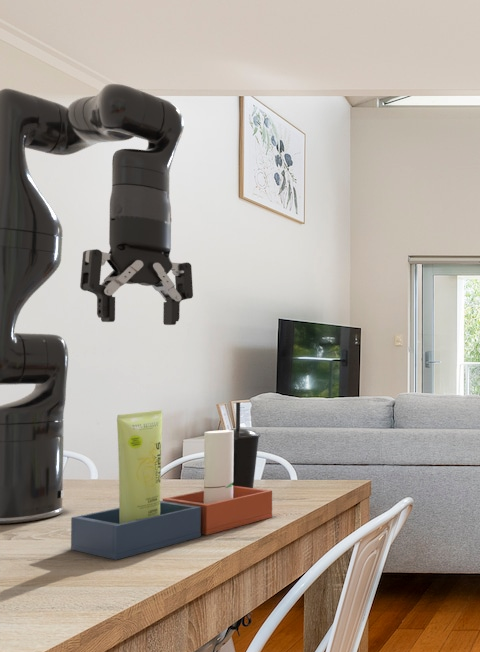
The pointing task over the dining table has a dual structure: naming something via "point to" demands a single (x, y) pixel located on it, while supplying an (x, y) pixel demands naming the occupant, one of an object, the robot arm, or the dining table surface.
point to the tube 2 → (218, 465)
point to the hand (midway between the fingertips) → (140, 323)
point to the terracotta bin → (229, 508)
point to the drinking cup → (244, 454)
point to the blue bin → (134, 531)
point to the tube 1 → (139, 465)
